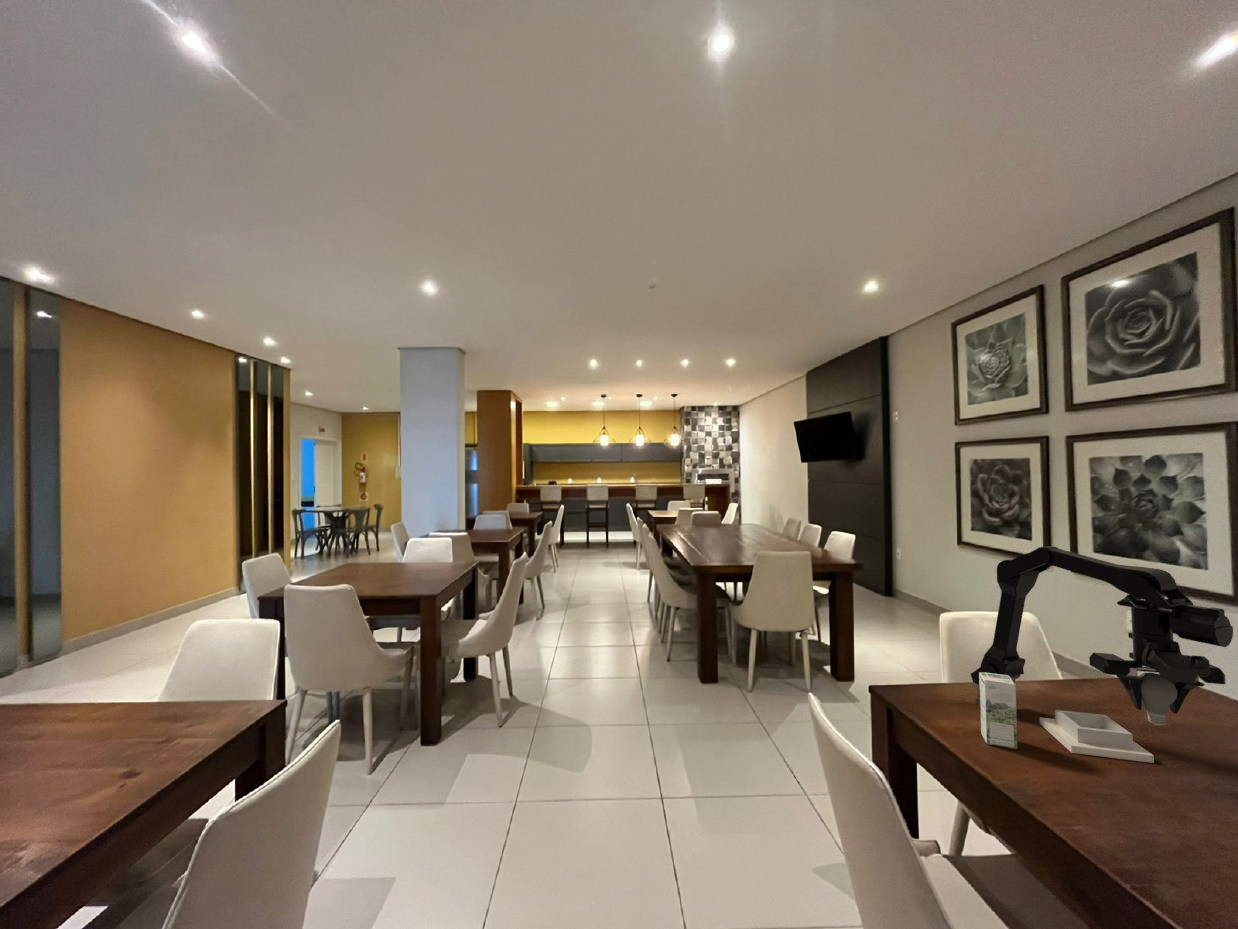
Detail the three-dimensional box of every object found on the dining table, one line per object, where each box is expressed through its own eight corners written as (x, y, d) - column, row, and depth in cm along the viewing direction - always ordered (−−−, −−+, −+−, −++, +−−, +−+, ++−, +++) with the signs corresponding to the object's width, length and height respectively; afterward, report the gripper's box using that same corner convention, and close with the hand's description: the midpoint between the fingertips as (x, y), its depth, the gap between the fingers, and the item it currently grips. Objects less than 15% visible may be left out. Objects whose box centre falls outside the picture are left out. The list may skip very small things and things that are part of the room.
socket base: (1071, 752, 109) (1070, 731, 110) (1039, 723, 123) (1039, 704, 123) (1153, 763, 105) (1152, 741, 105) (1111, 731, 119) (1110, 712, 119)
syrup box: (1010, 738, 116) (1008, 674, 116) (1018, 751, 110) (1015, 683, 111) (980, 733, 118) (978, 670, 119) (986, 745, 113) (984, 679, 113)
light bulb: (1159, 718, 104) (1156, 668, 105) (1188, 732, 98) (1185, 679, 99) (1127, 717, 105) (1124, 667, 105) (1154, 731, 99) (1152, 678, 99)
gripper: (1120, 640, 97) (1123, 722, 97) (1248, 648, 92) (1253, 736, 91) (1086, 624, 108) (1089, 699, 107) (1200, 631, 102) (1204, 710, 102)
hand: (1156, 711), depth 102 cm, fingers closed on light bulb, 5 cm apart
